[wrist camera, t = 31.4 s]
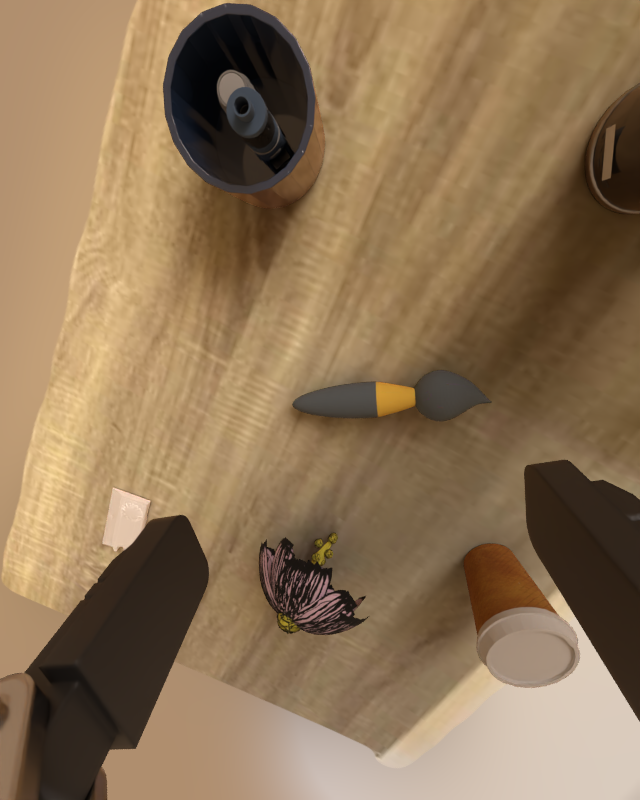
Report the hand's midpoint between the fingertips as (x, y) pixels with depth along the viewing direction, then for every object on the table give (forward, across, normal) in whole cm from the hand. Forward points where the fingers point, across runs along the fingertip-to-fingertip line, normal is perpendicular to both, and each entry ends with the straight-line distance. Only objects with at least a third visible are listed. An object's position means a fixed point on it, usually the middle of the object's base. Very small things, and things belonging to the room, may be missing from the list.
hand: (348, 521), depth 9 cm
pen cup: (+30, +4, -16) cm, 34 cm away
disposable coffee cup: (+30, -11, +34) cm, 47 cm away
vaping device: (+30, +4, -16) cm, 34 cm away
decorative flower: (+30, +11, +29) cm, 43 cm away
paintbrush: (+30, -2, +9) cm, 32 cm away
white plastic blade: (+30, +36, +22) cm, 52 cm away
